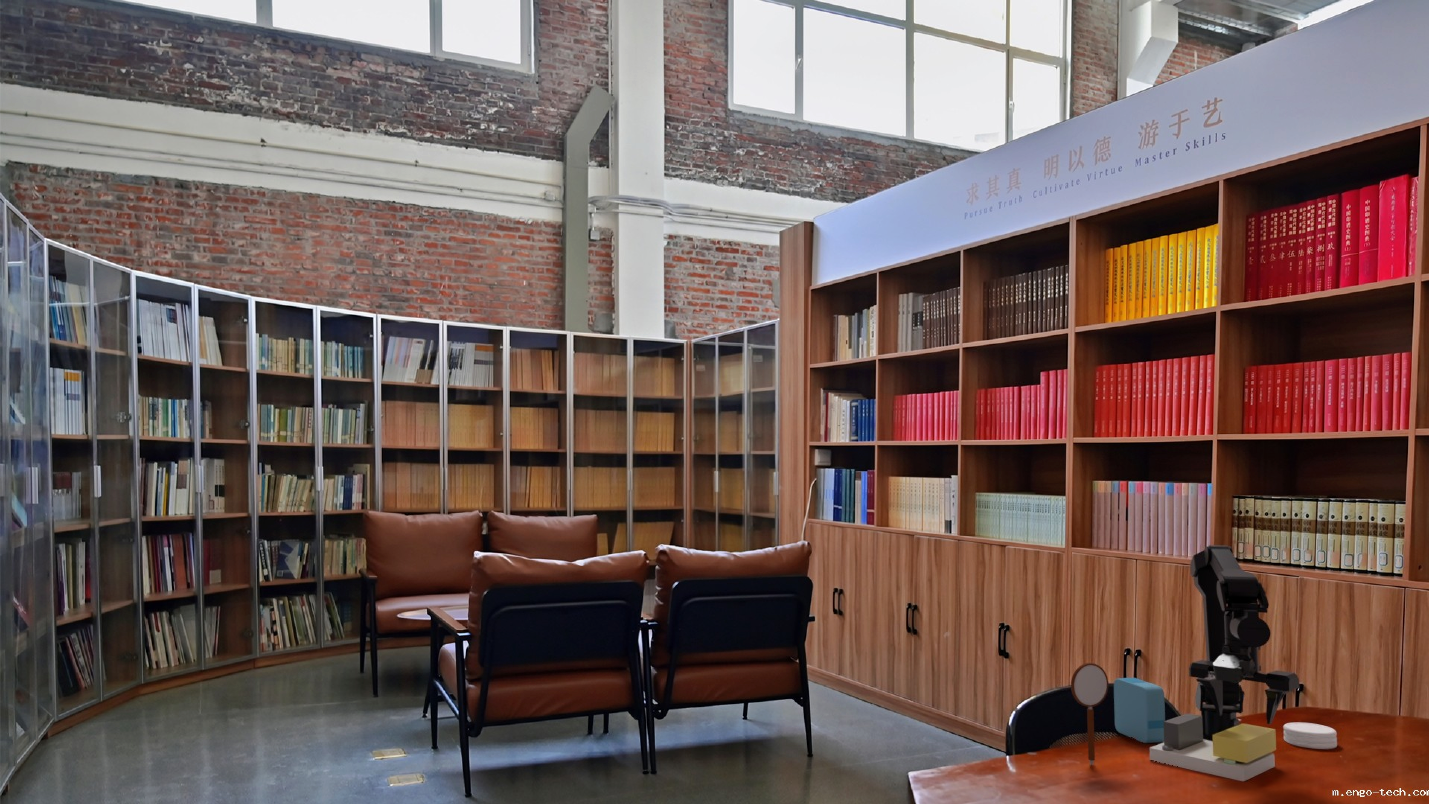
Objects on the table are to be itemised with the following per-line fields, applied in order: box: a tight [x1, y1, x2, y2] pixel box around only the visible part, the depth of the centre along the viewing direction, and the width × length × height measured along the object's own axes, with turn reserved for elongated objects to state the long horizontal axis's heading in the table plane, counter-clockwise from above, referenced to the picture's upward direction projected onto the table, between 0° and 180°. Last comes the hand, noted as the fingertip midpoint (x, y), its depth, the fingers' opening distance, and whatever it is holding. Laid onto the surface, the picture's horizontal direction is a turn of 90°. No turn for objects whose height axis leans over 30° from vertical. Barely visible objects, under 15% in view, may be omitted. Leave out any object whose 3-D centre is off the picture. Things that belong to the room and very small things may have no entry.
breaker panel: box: [1149, 739, 1276, 782], centre depth 198 cm, size 18×15×3 cm
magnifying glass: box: [1070, 662, 1109, 766], centre depth 198 cm, size 9×2×20 cm, turn 107°
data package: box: [1113, 677, 1166, 744], centre depth 219 cm, size 12×4×12 cm, turn 11°
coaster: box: [1282, 721, 1338, 750], centre depth 214 cm, size 10×10×4 cm
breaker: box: [1163, 712, 1204, 750], centre depth 204 cm, size 3×11×5 cm, turn 131°
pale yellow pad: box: [1212, 723, 1277, 763], centre depth 195 cm, size 6×14×4 cm, turn 131°
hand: (1244, 719), depth 195 cm, fingers open, 9 cm apart
